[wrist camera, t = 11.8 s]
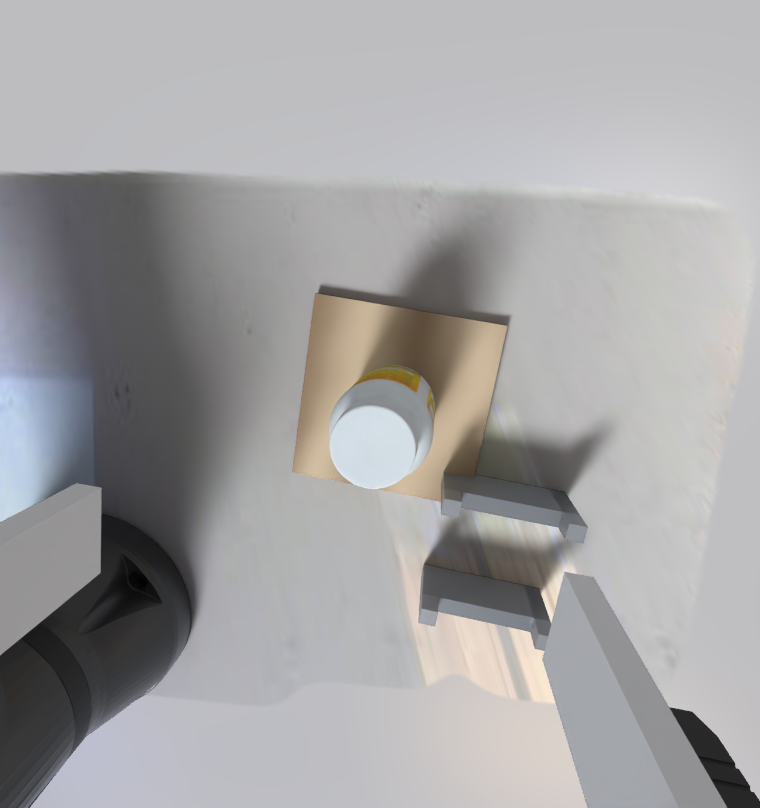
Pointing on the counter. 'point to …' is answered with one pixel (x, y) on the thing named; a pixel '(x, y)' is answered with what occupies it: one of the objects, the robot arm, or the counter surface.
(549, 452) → the counter surface
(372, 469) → the supplement bottle
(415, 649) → the counter surface
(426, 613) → the holder
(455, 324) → the square wooden board
